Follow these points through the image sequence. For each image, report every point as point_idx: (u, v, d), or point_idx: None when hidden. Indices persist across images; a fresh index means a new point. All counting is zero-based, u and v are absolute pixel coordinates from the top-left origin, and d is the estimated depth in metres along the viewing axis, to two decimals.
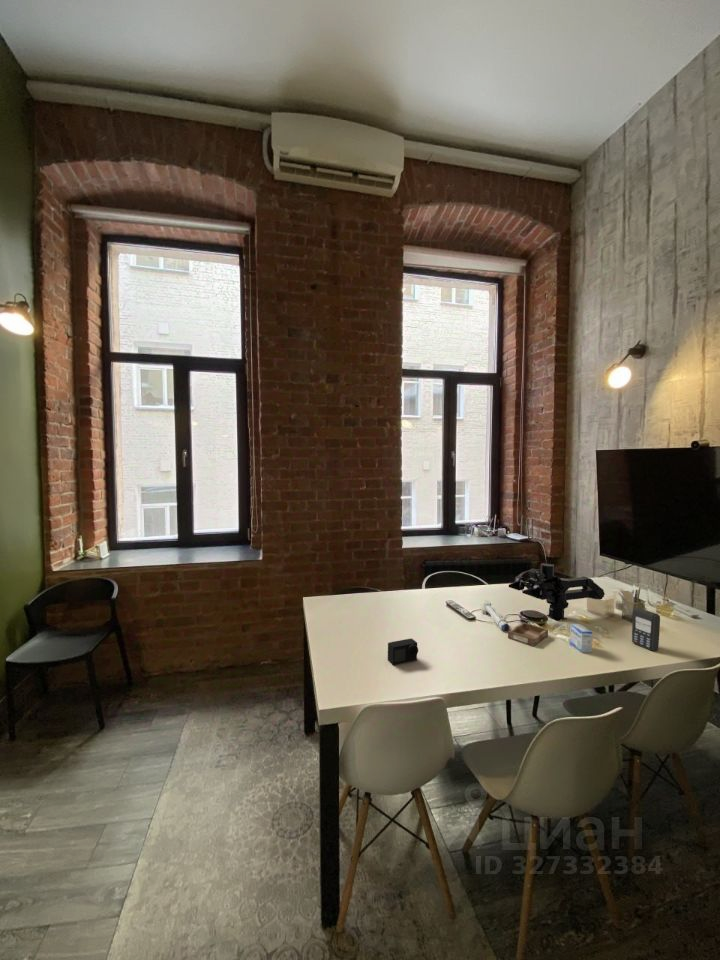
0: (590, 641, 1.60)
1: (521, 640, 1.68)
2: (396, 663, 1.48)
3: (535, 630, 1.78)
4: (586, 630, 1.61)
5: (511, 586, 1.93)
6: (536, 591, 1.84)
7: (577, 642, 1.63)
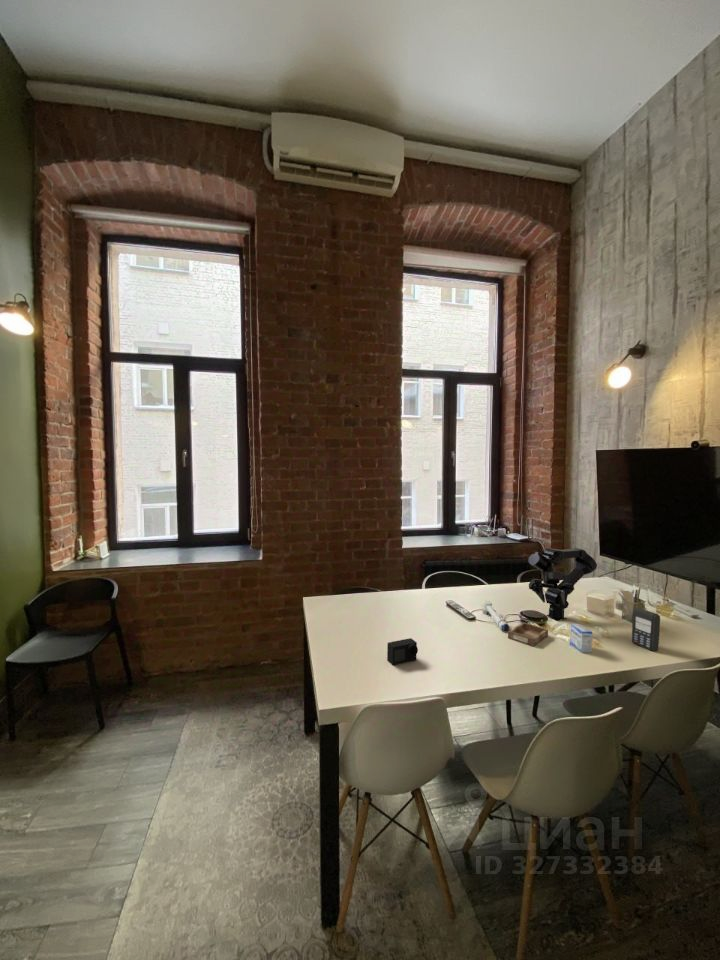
0: (590, 641, 1.60)
1: (521, 640, 1.68)
2: (396, 663, 1.48)
3: (535, 630, 1.78)
4: (586, 630, 1.61)
5: None
6: None
7: (577, 642, 1.63)
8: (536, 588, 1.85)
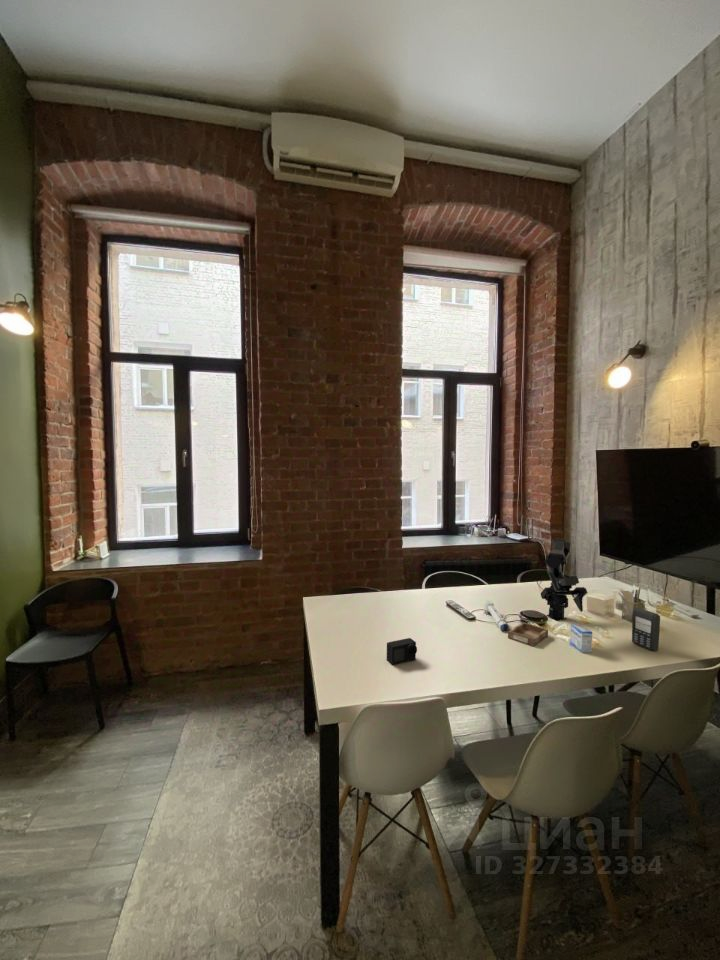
0: (590, 641, 1.60)
1: (521, 640, 1.68)
2: (395, 663, 1.48)
3: (535, 630, 1.78)
4: (586, 630, 1.61)
5: None
6: None
7: (577, 642, 1.63)
8: (550, 597, 1.74)
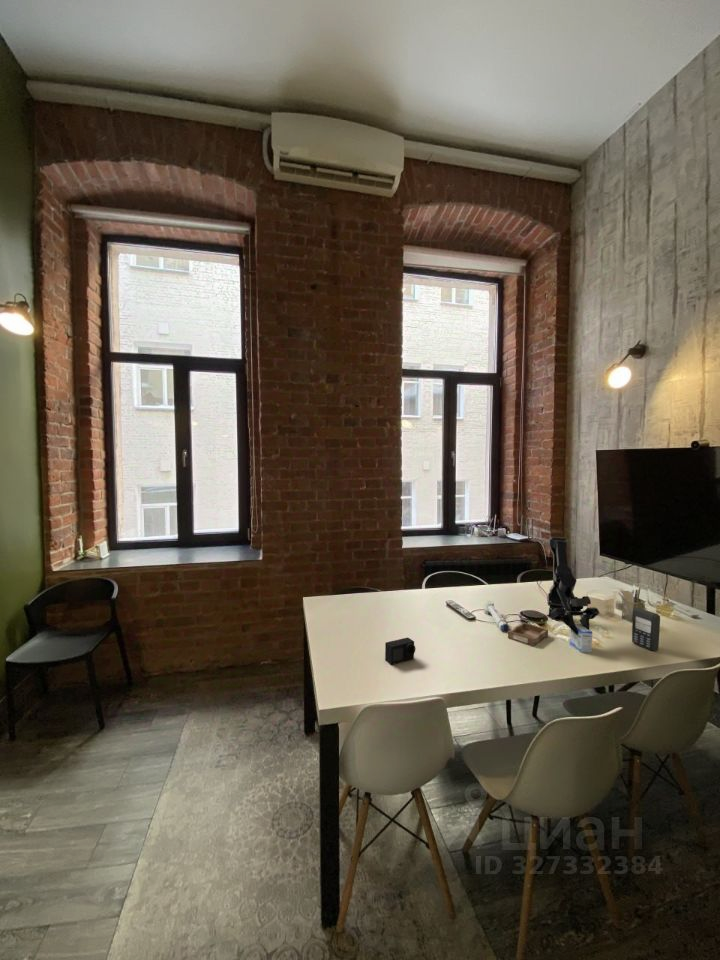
0: (590, 641, 1.60)
1: (521, 640, 1.68)
2: (394, 663, 1.48)
3: (535, 630, 1.78)
4: (586, 630, 1.61)
5: None
6: None
7: (577, 642, 1.63)
8: (565, 618, 1.66)
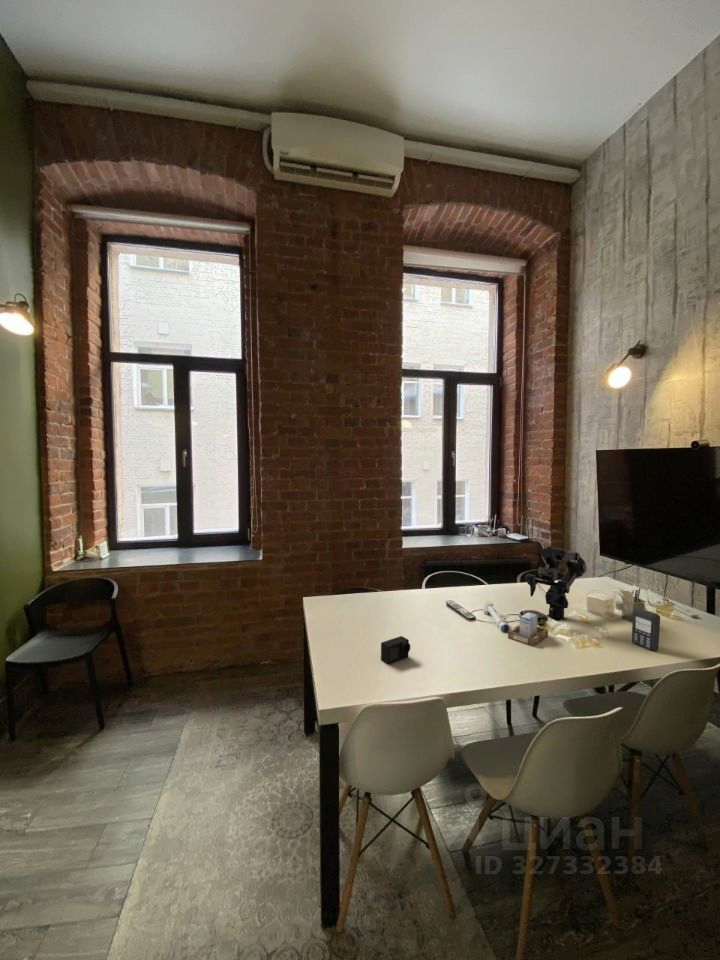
0: (528, 628, 1.70)
1: (521, 640, 1.68)
2: (391, 662, 1.49)
3: None
4: (527, 617, 1.72)
5: (532, 594, 1.88)
6: (559, 589, 1.82)
7: None
8: None
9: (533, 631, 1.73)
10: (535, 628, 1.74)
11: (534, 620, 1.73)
